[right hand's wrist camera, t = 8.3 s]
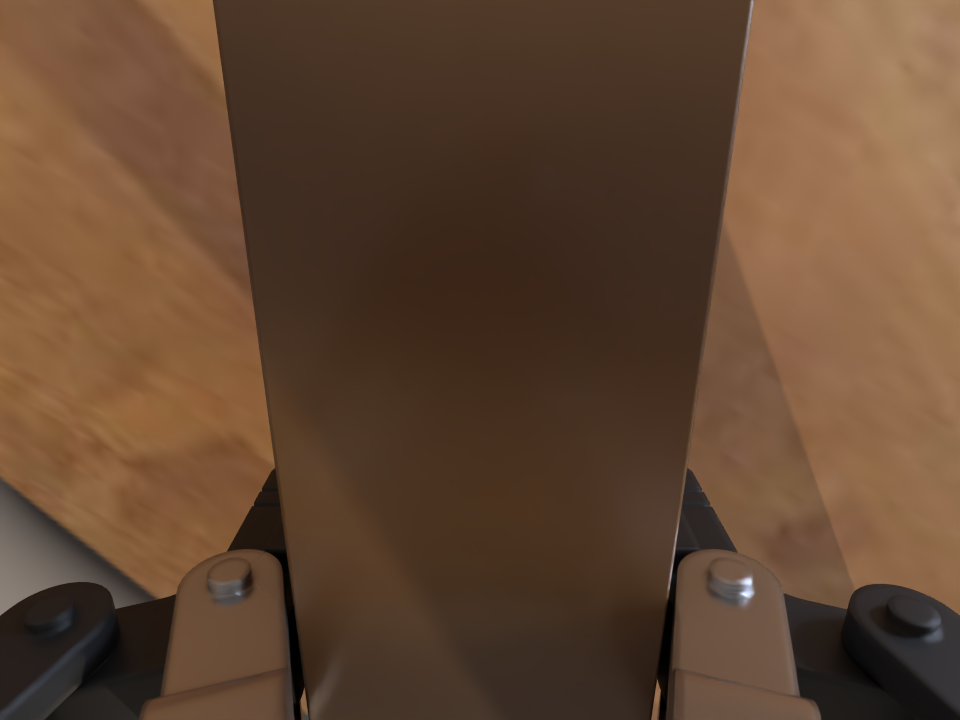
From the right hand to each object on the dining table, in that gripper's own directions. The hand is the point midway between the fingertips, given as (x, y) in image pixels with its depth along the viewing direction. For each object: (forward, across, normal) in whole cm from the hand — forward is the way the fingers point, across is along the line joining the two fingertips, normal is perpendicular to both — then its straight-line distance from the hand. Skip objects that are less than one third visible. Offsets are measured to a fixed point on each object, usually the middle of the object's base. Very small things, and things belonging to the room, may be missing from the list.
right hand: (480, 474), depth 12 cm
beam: (+3, 0, -31) cm, 31 cm away
